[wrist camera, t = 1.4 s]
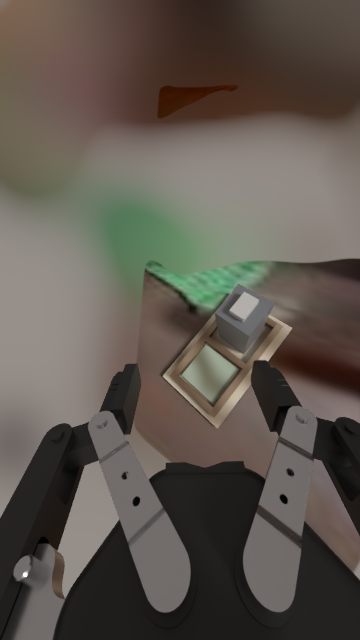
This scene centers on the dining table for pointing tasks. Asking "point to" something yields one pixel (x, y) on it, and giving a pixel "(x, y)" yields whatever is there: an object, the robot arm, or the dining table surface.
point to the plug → (242, 317)
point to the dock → (221, 368)
